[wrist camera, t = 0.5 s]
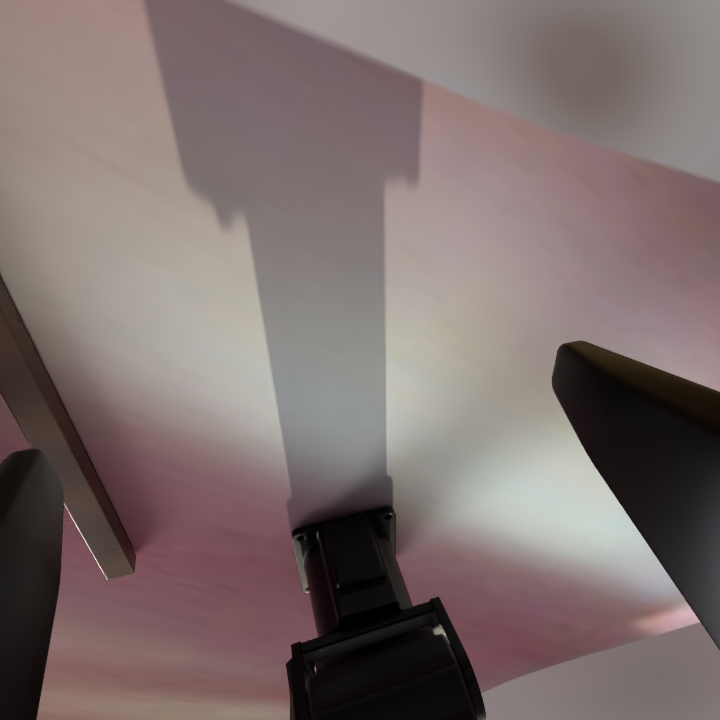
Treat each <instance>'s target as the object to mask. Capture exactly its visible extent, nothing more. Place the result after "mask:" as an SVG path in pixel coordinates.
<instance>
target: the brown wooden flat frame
mask: <svg viewBox="0 0 720 720" xmlns="http://www.w3.org/2000/svg"><path fill="white" fill-rule="evenodd" d="M0 393H1V395H2V396H3V398H4V400H5V402H6V404H7V405H8V407H9V409H10V411H11V412H12V414H13V416H14V418H15V419H16V421H17V423H18V425H19V426H20V428H21V430H22V432H23V433H24V435H25V437H26V439H27V440H28V442H29V444H30V446H31V447H32V448H40V449H42V450H44V451H45V453H46V454H47V456H48V458H49V460H50V462H51V463H52V465H53V467H54V469H55V471H56V473H57V474H58V476H59V478H60V480H61V482H62V485H63V489H64V505H65V507H66V509H67V511H68V512H69V514H70V516H71V518H72V519H73V521H74V523H75V525H76V526H77V528H78V530H79V532H80V534H81V535H82V537H83V539H84V541H85V542H86V544H87V546H88V548H89V549H90V551H91V553H92V555H93V556H94V558H95V560H96V562H97V563H98V565H99V567H100V569H101V570H102V572H103V574H104V576H105V577H106V579H107V580H108V579H113V578H117V577H121V576H125V575H129V574H133V573H134V572H135V561H136V555H135V553H134V551H133V549H132V547H131V545H130V543H129V541H128V539H127V536H126V534H125V532H124V530H123V528H122V526H121V524H120V522H119V520H118V518H117V516H116V514H115V512H114V510H113V508H112V506H111V504H110V502H109V500H108V498H107V496H106V494H105V492H104V489H103V487H102V485H101V483H100V481H99V479H98V477H97V475H96V473H95V471H94V469H93V467H92V465H91V463H90V461H89V459H88V457H87V455H86V453H85V451H84V449H83V447H82V444H81V442H80V440H79V438H78V436H77V434H76V432H75V430H74V428H73V426H72V424H71V422H70V420H69V418H68V416H67V414H66V412H65V410H64V408H63V406H62V404H61V402H60V400H59V397H58V395H57V393H56V391H55V389H54V387H53V385H52V383H51V381H50V379H49V377H48V375H47V373H46V371H45V369H44V367H43V365H42V363H41V361H40V359H39V357H38V355H37V353H36V350H35V348H34V346H33V344H32V342H31V340H30V338H29V336H28V334H27V332H26V330H25V328H24V326H23V324H22V322H21V320H20V318H19V316H18V314H17V312H16V310H15V308H14V306H13V303H12V301H11V299H10V297H9V295H8V293H7V291H6V289H5V287H4V285H3V283H2V281H1V279H0Z"/></svg>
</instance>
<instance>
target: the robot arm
mask: <svg viewBox="0 0 720 720" xmlns="http://www.w3.org/2000/svg"><path fill="white" fill-rule="evenodd" d="M552 387H553V390H554V393H555V395H556V397H557V398H558V400H559V402H560V404H561V406H562V408H563V410H564V412H565V414H566V415H567V417H568V419H569V421H570V423H571V425H572V427H573V429H574V431H575V432H576V434H577V436H578V438H579V440H580V442H581V444H582V446H583V447H584V449H585V451H586V453H587V454H588V456H589V458H590V459H591V461H592V462H593V464H594V466H595V467H596V469H597V470H598V472H599V473H600V475H601V476H602V477H603V479H604V480H605V482H606V483H607V485H608V486H609V488H610V489H611V491H612V492H613V494H614V495H615V497H616V498H617V500H618V501H619V503H620V504H621V505H622V507H623V508H624V510H625V511H626V513H627V514H628V516H629V517H630V519H631V520H632V522H633V523H634V525H635V526H636V528H637V529H638V531H639V532H640V533H641V535H642V536H643V538H644V539H645V541H646V542H647V544H648V545H649V547H650V548H651V550H652V551H653V553H654V554H655V556H656V557H657V559H658V560H659V561H660V563H661V564H662V566H663V567H664V569H665V570H666V572H667V573H668V575H669V576H670V578H671V579H672V581H673V582H674V584H675V585H676V587H677V588H678V589H679V591H680V592H681V594H682V595H683V597H684V598H685V600H686V601H687V603H688V604H689V606H690V607H691V609H692V610H693V612H694V613H695V615H696V616H697V617H698V619H699V620H700V622H701V623H702V625H703V626H704V628H705V629H706V631H707V632H708V633H709V635H710V637H711V638H712V640H713V641H714V642H715V644H716V645H717V647H718V648H719V650H720V392H719V391H716V390H713V389H711V388H708V387H705V386H702V385H700V384H697V383H694V382H692V381H689V380H686V379H684V378H681V377H678V376H676V375H673V374H670V373H668V372H665V371H662V370H660V369H657V368H654V367H652V366H649V365H646V364H644V363H641V362H638V361H636V360H633V359H630V358H628V357H625V356H622V355H620V354H617V353H614V352H612V351H609V350H606V349H604V348H601V347H598V346H596V345H593V344H590V343H588V342H585V341H575V342H570V343H565V344H562V345H561V346H560V347H559V349H558V351H557V355H556V360H555V365H554V370H553V375H552ZM63 513H64V489H63V485H62V482H61V480H60V478H59V476H58V474H57V473H56V471H55V469H54V467H53V465H52V463H51V462H50V460H49V458H48V456H47V454H46V453H45V451H44V450H42V449H40V448H32V449H27V450H22V451H17V452H14V453H11V454H10V455H9V456H8V457H7V458H5V459H4V460H3V461H2V462H1V463H0V720H36V719H37V713H38V707H39V702H40V696H41V690H42V684H43V679H44V673H45V667H46V662H47V656H48V650H49V644H50V639H51V633H52V627H53V621H54V616H55V610H56V604H57V599H58V592H59V585H60V573H61V555H62V534H63ZM292 540H293V545H294V550H295V555H296V561H297V566H298V571H299V576H300V581H301V587H302V591H303V592H305V593H310V598H311V604H312V609H313V614H314V619H315V624H316V629H317V634H318V638H315V639H312V640H309V641H306V642H303V643H301V641H300V642H297V643H294V644H291V649H292V658H291V659H290V660H289V661H288V662H287V663H286V668H287V675H288V682H289V690H290V720H485V719H486V712H485V707H484V703H483V699H482V695H481V692H480V689H479V685H478V682H477V679H476V677H475V674H474V671H473V668H472V666H471V663H470V661H469V658H468V656H467V654H466V652H465V650H464V648H463V646H462V643H461V641H460V639H459V637H458V635H457V633H456V631H455V629H454V627H453V625H452V623H451V621H450V619H449V617H448V615H447V612H446V610H445V608H444V606H443V604H442V602H441V600H440V598H439V597H436V598H432V599H430V601H429V602H426V603H423V604H420V605H416V606H413V604H412V602H411V599H410V596H409V593H408V590H407V587H406V585H405V582H404V579H403V576H402V573H401V571H400V568H399V565H398V562H397V559H396V514H395V512H394V509H393V508H392V507H384V508H380V509H375V510H371V511H367V512H363V513H359V514H354V515H350V516H346V517H342V518H338V519H334V520H329V521H325V522H321V523H317V524H313V525H309V526H304V527H300V528H297V529H295V530H294V531H293V532H292Z"/></svg>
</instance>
